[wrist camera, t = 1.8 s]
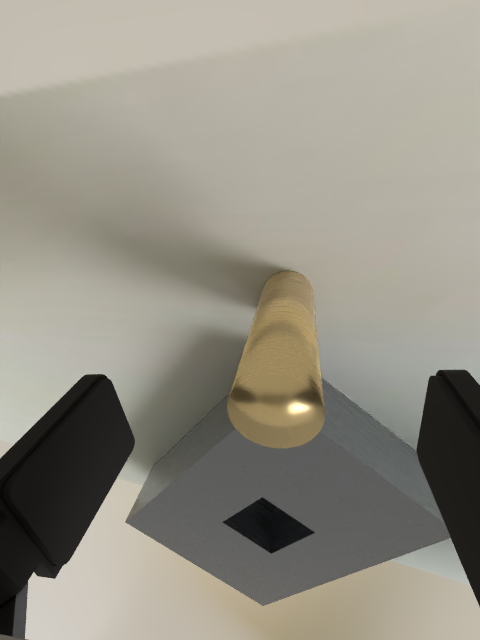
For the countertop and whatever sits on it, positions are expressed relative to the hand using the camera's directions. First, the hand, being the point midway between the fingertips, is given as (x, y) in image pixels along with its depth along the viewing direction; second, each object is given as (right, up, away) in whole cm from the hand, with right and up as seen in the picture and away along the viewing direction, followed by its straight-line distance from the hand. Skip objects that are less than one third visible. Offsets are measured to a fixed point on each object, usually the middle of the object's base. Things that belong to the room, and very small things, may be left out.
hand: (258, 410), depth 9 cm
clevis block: (+2, -9, +16) cm, 18 cm away
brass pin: (+2, +4, +9) cm, 10 cm away
